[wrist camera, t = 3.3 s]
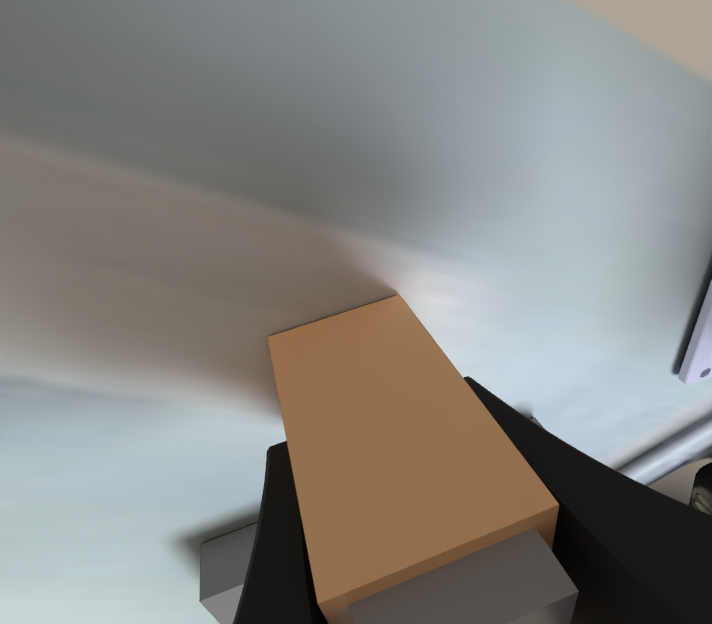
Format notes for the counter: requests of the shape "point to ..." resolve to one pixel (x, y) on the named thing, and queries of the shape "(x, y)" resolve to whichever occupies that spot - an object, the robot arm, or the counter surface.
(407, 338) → the plug
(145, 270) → the counter surface
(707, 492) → the mobile phone
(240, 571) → the socket plate
